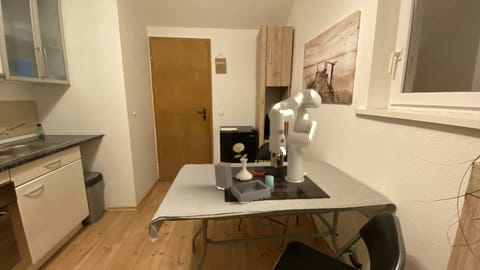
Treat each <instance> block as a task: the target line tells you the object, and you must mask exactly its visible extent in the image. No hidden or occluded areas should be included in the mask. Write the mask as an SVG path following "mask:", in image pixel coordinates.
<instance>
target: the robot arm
mask: <svg viewBox="0 0 480 270" xmlns="http://www.w3.org/2000/svg"><path fill="white" fill-rule="evenodd" d="M321 105H322V98H321V96H320V95H319V93H318V92H317V91H316V90H314V89H313V88H307V89H304V88H303V89H297V90H295V91H294V92H292V94H291V95H290V96H289V97H288V98H287V99H284V100H282V101H279V102H277V103H275V104H274V105H273V106H272V107H271V108H270V110H269V111H268V119H269V120H270V121H269V145H268V150H269V153H270V157H271V156H278V159H277V166H281V167H283V166H284V158H285V157H286V156H287V160H286V161H287V165H286V167H287V169H286V170H287V171H286V172H287V174H286V175H285V176H284V180H285V181H286V182H289V183H291V184H293V183H294V184H299V183H303V182H305V176H308V175H309V173H308V172H303V152H302V150H301V149H306V150H307V149H308V150H310V149H312V148H313V147H314V145H315V141H316V139H317V136H318V132H319V123H318V122H317V120H314V119H310V118H311V114H310V113H309V112H308V110H307V109H318V108H320V107H321ZM295 111H296V118H295ZM294 118H295V120H294ZM293 120H294V123H293V126H292V131H293V132H289V133H288V134H287V135H286V136H285V123H290V122H292V121H293ZM282 165H283V166H282Z"/></svg>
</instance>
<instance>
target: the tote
mask: <svg viewBox="0 0 480 270" xmlns="http://www.w3.org/2000/svg"><path fill="white" fill-rule="evenodd" d="M242 190H245V191H243V193H242V194H241V193H240V192H239V191H242ZM231 192H232V193H233V195H234V196H235V197H236V198H237V199H238V200H239V201H240V202H241V203H242V202H247V201H253V200H257V201H260V200H259V199H261V200H264V199H263V198H265V199H270V198H271V197H272V195H271V194H272V191H271V188H269V187H268V186H266V185H265V183H263V182H262V181H260V180H259V179H258V180H251V181H248V182H247V181H245V182H242V183H238V184H233V185H231V189H230V193H231ZM233 195H232V196H233ZM234 196H233V197H234ZM235 197H234V198H235ZM269 197H270V198H269ZM253 202H254V201H253Z"/></svg>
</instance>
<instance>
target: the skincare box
mask: <svg viewBox="0 0 480 270" xmlns="http://www.w3.org/2000/svg"><path fill="white" fill-rule="evenodd" d="M213 166H214V167H213V168H214V175H215V176H214V177H215V184H216V186H218V187H221V188H226V189H228V188H229V187H231V185H234V184H233V176H232V173H233V172H232V164H231V162H223V161H219V162H218V163H216V164H214V165H213Z"/></svg>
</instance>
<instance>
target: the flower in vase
mask: <svg viewBox="0 0 480 270" xmlns="http://www.w3.org/2000/svg"><path fill="white" fill-rule="evenodd" d="M244 145H245V144H243V143H241V142H239V143H236V144H234V145H233V147H232V150H233V152H236V153H239V154H236V155H234V158H237V159H238V158H240V159H239V160H240V162H241V165H242V166H241V167H242V168H241V170H240V171H239V172H238V173H237V174H236V176H235V178H236V180H238V179H240V180H239V181H249V180H251V179H253V174H252V173H251V172H249V171H248V170H247V165H246V164H247V162H248V158H246V157H247V155H248V153H246V154H243V156H241V151H244V150H245V146H244Z"/></svg>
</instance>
